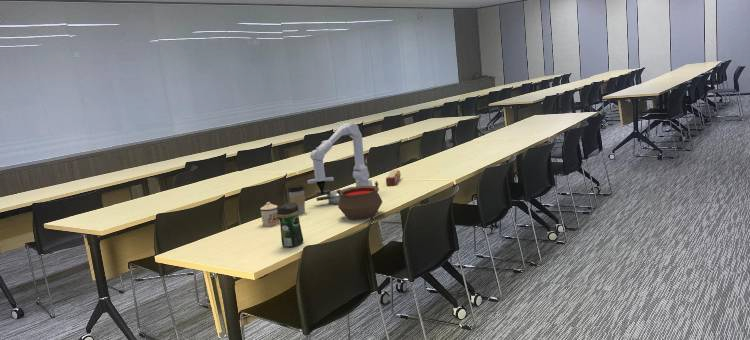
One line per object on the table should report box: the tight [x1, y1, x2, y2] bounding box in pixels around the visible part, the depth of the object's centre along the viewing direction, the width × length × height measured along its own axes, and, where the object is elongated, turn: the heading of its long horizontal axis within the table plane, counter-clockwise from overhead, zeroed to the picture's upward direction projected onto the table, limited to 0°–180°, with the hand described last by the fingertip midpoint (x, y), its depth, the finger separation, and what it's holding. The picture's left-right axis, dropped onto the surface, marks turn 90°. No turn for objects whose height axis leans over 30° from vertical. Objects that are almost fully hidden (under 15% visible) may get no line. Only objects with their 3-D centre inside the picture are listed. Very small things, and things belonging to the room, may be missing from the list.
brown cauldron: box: [337, 180, 383, 221], centre depth 290 cm, size 24×24×16 cm
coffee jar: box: [277, 202, 304, 248], centre depth 253 cm, size 10×8×19 cm
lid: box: [315, 189, 340, 197], centre depth 328 cm, size 20×14×4 cm
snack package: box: [385, 169, 401, 187], centre depth 368 cm, size 21×7×7 cm, turn 169°
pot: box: [315, 195, 340, 206], centre depth 329 cm, size 22×13×4 cm, turn 103°
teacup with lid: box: [259, 201, 280, 228], centre depth 296 cm, size 12×9×12 cm
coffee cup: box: [287, 184, 306, 216], centre depth 312 cm, size 9×9×15 cm
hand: (322, 194), depth 325 cm, fingers closed, pressing on lid
